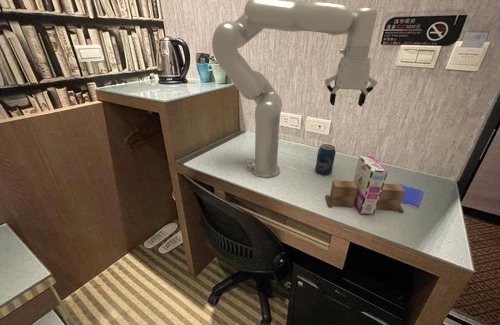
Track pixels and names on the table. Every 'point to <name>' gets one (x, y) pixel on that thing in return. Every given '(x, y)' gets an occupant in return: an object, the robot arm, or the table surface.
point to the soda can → (325, 159)
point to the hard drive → (411, 196)
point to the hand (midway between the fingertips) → (346, 105)
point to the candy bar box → (368, 184)
